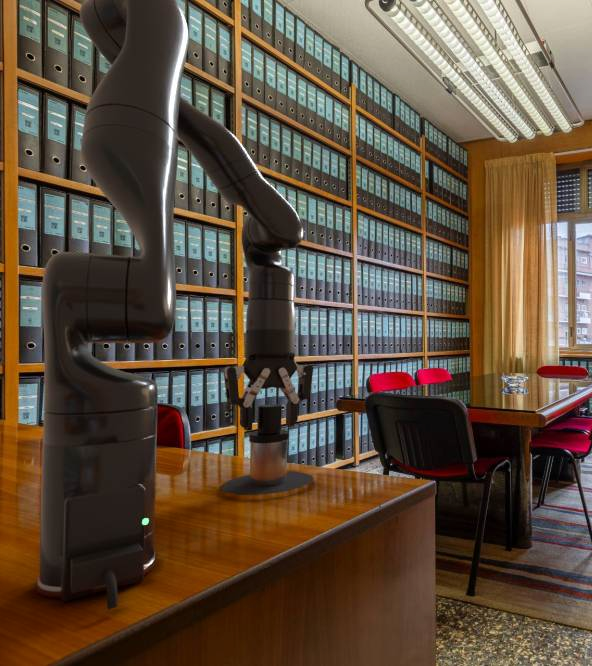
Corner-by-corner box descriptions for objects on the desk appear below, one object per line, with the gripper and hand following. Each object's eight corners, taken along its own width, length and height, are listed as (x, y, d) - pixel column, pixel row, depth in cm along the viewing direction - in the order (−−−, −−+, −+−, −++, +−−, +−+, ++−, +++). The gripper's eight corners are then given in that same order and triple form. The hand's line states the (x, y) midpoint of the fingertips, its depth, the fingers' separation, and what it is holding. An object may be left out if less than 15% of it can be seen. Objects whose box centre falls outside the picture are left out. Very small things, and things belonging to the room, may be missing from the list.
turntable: (327, 488, 83) (327, 482, 83) (236, 507, 73) (236, 500, 73) (293, 472, 93) (293, 467, 93) (209, 487, 83) (209, 481, 83)
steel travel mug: (293, 482, 83) (294, 405, 83) (255, 489, 79) (257, 408, 79) (275, 472, 89) (276, 401, 89) (238, 478, 85) (240, 404, 85)
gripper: (305, 329, 91) (303, 420, 91) (217, 327, 81) (215, 429, 81) (322, 328, 86) (320, 426, 85) (230, 326, 76) (228, 436, 76)
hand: (269, 427), depth 83 cm, fingers open, 6 cm apart
